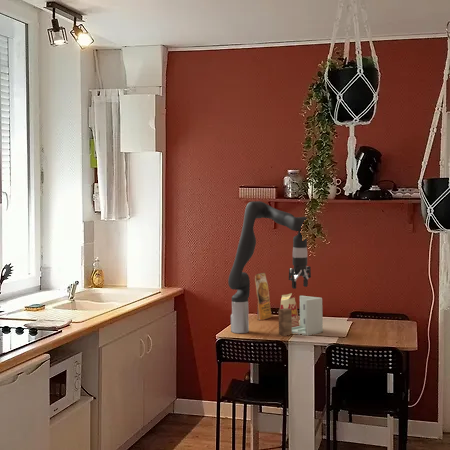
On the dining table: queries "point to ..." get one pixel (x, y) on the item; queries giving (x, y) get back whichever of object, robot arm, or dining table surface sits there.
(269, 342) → the dining table surface
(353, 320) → the dining table surface
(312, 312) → the cabinet frame
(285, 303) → the red cream food bag
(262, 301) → the pancake mix bag
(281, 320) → the brown wooden block
